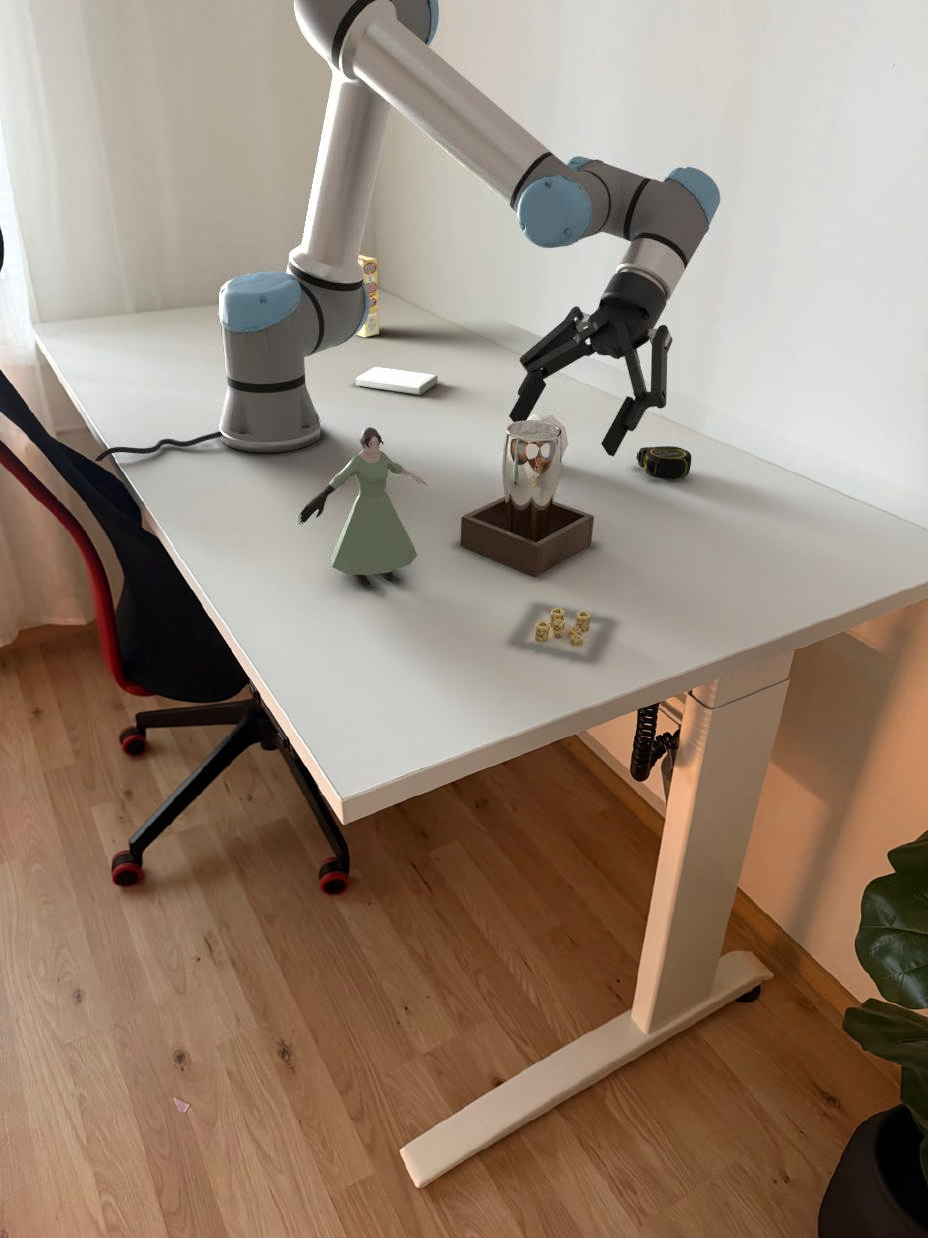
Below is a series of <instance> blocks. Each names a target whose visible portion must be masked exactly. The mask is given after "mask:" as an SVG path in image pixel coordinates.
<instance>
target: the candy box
mask: <svg viewBox="0 0 928 1238" xmlns="http://www.w3.org/2000/svg"><path fill="white" fill-rule="evenodd" d="M358 261H359V263H360V265H361V266H362V268H363V269H364V272H365V274H364V280H363V281H364V283H365V285H366V288H365V290H366V292H367V293H368V294H369V299H370V308H369V314H368V318H367V321H366V323H365V325H364V326H363V328H362V329H361V330H360V332H359V333H358V334H357V335H358V336H360V337H363V338H367V337H371V336H377V335H379V334H380V315H379V314H380V313H379V284H378V283H379V282H378V281H379V279H378V276H379V275H378V258H375V257H371V256H367V255H363V254H359V256H358Z"/></svg>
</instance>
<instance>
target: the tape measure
mask: <svg viewBox="0 0 928 1238" xmlns="http://www.w3.org/2000/svg"><path fill="white" fill-rule="evenodd" d="M636 461H637V464H638V466H639V467H640V468H642V469H644V472H645V473H646V474H648V475H649V476H651V477H654V478H656V479H663V480H666V481H667V480H677V479H679V480H680V479H683V478H685V477H687V476H688V475H689V474H690V471H691V466H692V454H691V452H690V451H688V450H686V449H684V448H681V447H679V446H672V445H663V446H660V445H659V446H646V447H640V448H639V450H638V452H636Z"/></svg>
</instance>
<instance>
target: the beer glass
mask: <svg viewBox="0 0 928 1238" xmlns="http://www.w3.org/2000/svg"><path fill="white" fill-rule="evenodd" d="M502 451H503V452H502V463H501V464H502V465H501V467H502V470H501V474H502V475H501V476H502V486H503V494H504V496H505V502H506V526H505V528H504V530H506V531H508V532H511V533H513V534H516V535H518V536H521V537H524V538H526V539H529V540H531V541H534V542H536V543H537V542H538V541H540V540H542V539H544V538H546V537H547V536H549V535H551V533H550V531H549V521H550V514H551V510H552V506H553V502H555V499H556V495H557V491H558V487H559V484H560V483H559V482H560V478H561V471H562V461H563V459H562V458H563V456H562V429H561V428H560V427H559V426H557V425H555V424H552V423H549V422H544V421H537V420H524V421H517V422H511V423H509V424H507V426H506V427H505V436H504V443H503V450H502Z"/></svg>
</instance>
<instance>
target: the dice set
mask: <svg viewBox="0 0 928 1238" xmlns="http://www.w3.org/2000/svg"><path fill="white" fill-rule="evenodd" d="M549 615H550V617H549V622H548V621H545V620H538V621H537V622H535V627H534V641H536V642H538V643H546V642H548V641H549V636H550V628H551V629H552V631H553V635H552V639H557V640H563V638H564V637H563V634H564V631H565V630H566V620H565V610H564V609H562V608H559V607H554V608H551V610H550V614H549ZM590 621H591V613H589V612H588V611H583V610H581V611H578V612H576V619H575V625H574V626H572V627H569V628H568V630H567V636H568V637H570V638H569V643H570V644H571V645H572V646H573V647H574V648H577V647H580V646H583V645H584V638H583V636H582V633H583V634H584V633H587V632H588V631H589V629H590Z"/></svg>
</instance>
